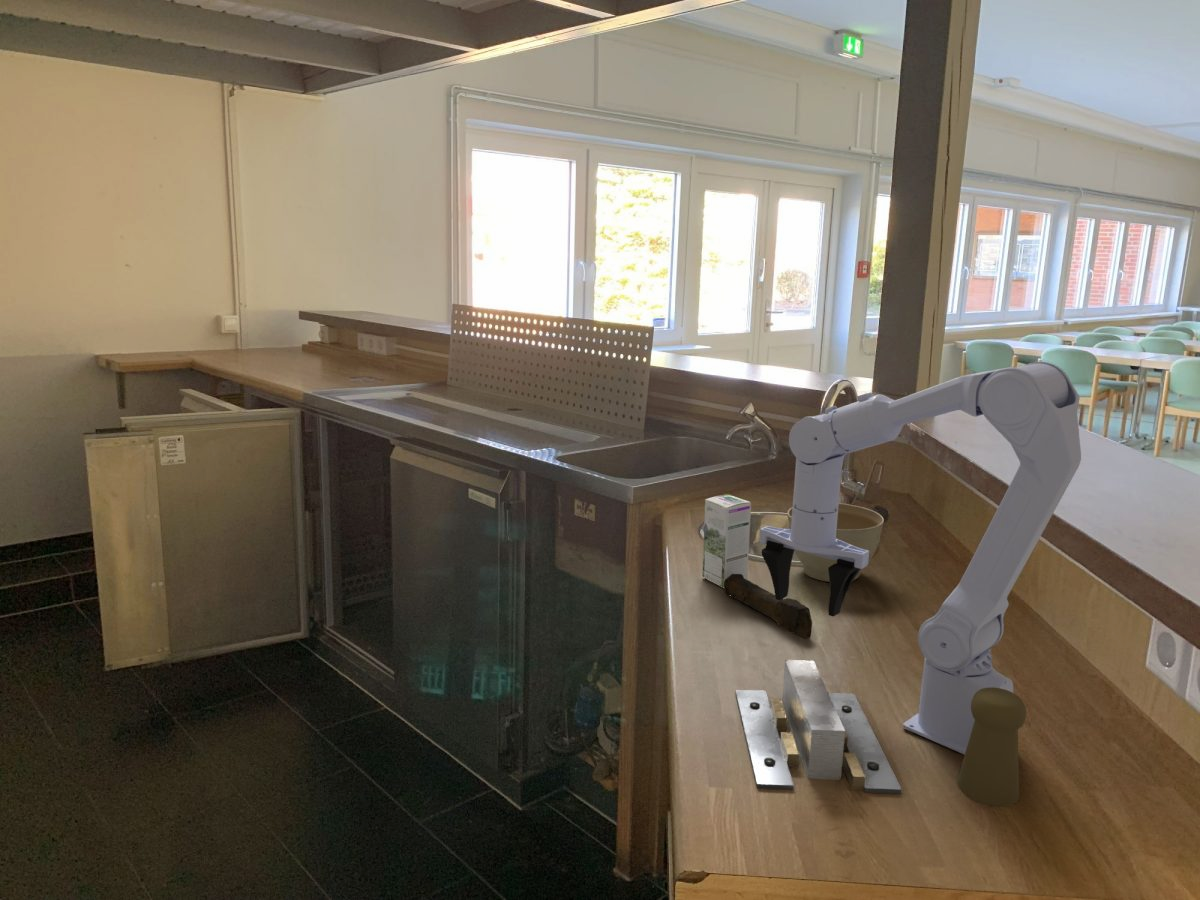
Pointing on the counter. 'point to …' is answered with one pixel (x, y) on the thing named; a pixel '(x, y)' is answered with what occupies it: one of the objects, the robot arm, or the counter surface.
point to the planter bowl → (845, 538)
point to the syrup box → (726, 538)
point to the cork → (993, 748)
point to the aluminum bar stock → (813, 720)
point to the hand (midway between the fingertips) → (807, 605)
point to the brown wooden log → (771, 605)
